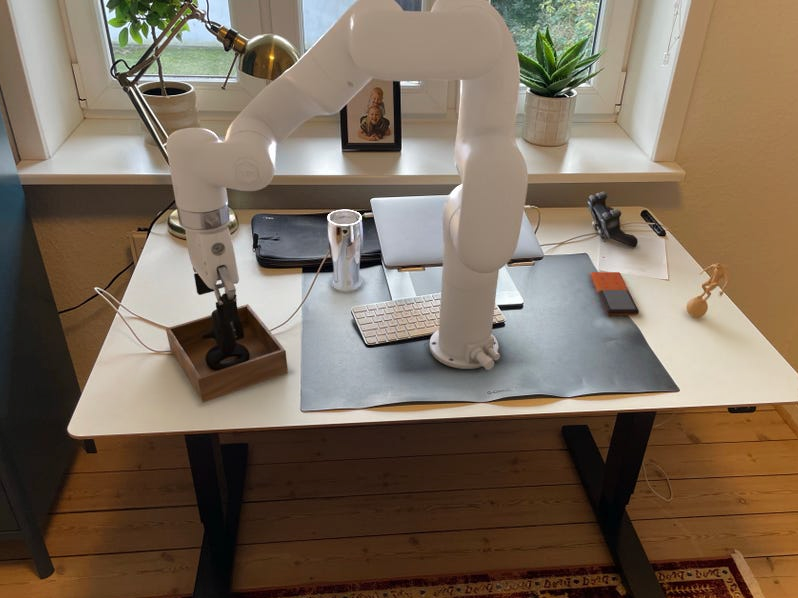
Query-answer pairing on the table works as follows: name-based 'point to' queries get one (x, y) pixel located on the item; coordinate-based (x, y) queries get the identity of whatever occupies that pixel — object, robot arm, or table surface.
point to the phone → (614, 293)
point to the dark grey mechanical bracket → (608, 220)
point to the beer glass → (345, 248)
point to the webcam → (225, 343)
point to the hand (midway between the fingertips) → (217, 306)
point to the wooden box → (212, 384)
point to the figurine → (708, 290)
